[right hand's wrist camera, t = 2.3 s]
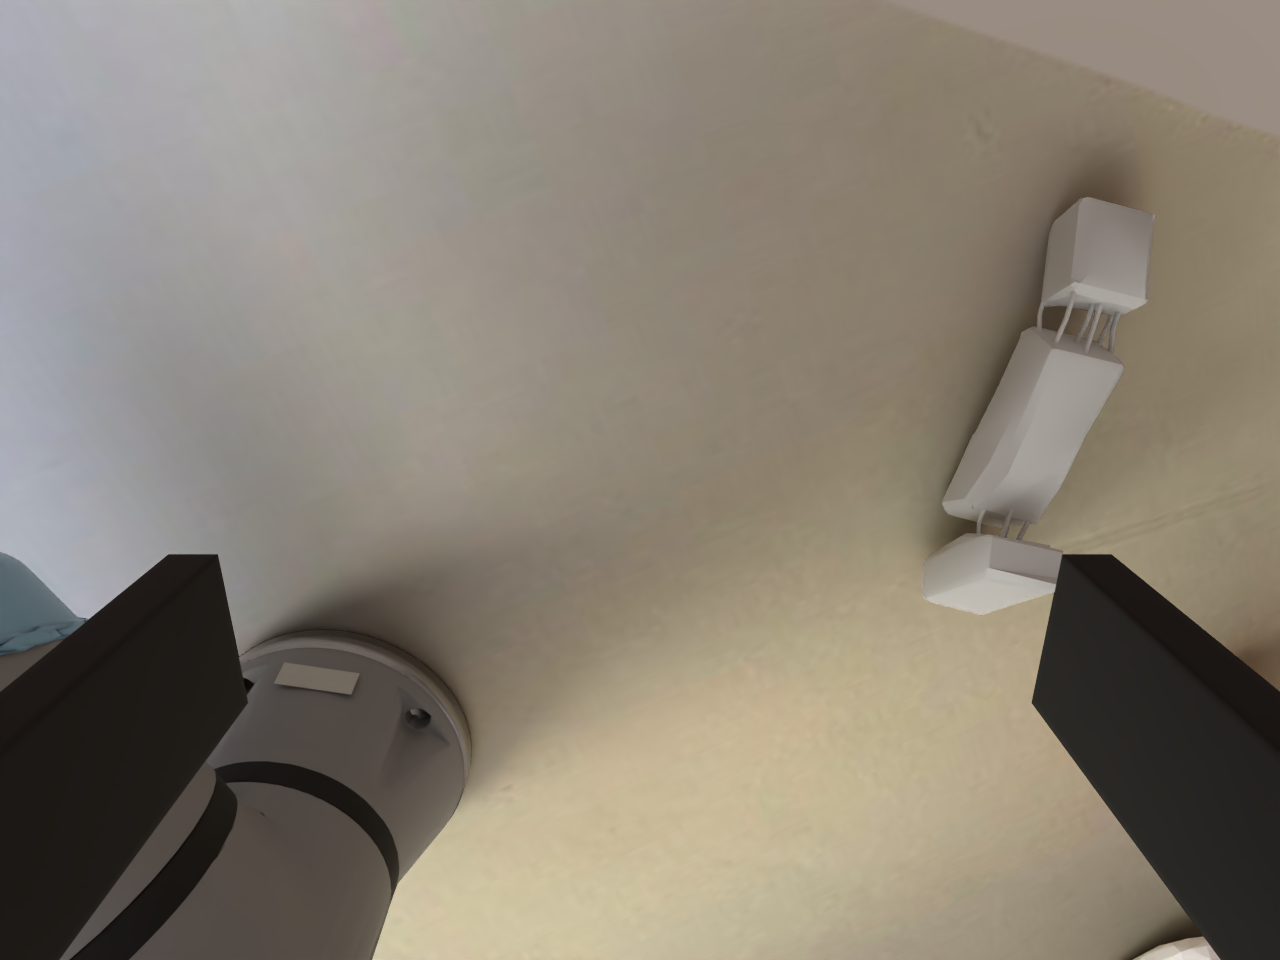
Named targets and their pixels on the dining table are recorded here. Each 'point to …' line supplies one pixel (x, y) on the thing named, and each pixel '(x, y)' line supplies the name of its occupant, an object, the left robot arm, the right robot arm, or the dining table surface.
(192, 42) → the dining table surface
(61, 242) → the dining table surface
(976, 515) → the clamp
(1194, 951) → the skull
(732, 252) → the dining table surface
